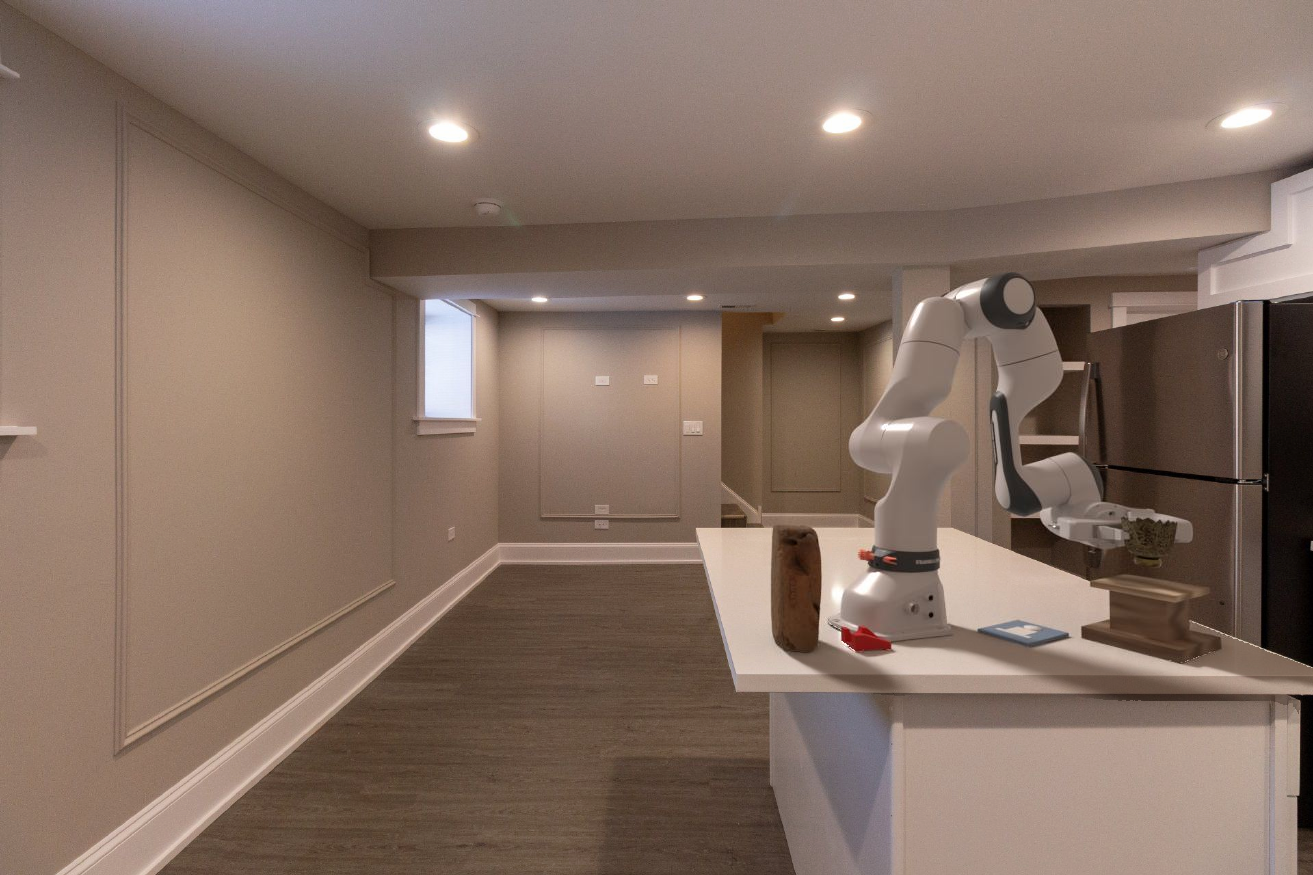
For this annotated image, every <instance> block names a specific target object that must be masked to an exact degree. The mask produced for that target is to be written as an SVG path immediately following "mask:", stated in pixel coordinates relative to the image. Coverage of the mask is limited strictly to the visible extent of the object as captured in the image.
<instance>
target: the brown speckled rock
mask: <svg viewBox="0 0 1313 875" xmlns="http://www.w3.org/2000/svg"><path fill="white" fill-rule="evenodd" d="M771 533H772V534H771V536H772V537H771V555H770V556H771V561H770V567H771V568H770V619H771V620H770V621H771V634H772V638H773V640H774V642H775V643H776V644H777V643H778V644H777V645H779V644H780V646H781V647H782V648H784V649H785V650H788V651H791V652H798V653H799V652H800V653H805V652H806V653H807V652H808V653H809V652H812V651H814V650H816V649H817V647H818V645H819V641H820V640H819V638H820V637H819V636H820V618H821V617H820V615H821V603H822V601H821V600H822V577H823V575H822V556H821V549H820V548H821V547H820V542H819V536H818V534H817V531H816V530H815V529H814V528H812V527H811V526H808V525H796V524H795V525H791V524H774V525H773V527H772V531H771Z"/></svg>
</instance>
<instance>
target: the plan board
mask: <svg viewBox="0 0 1313 875" xmlns="http://www.w3.org/2000/svg"><path fill="white" fill-rule="evenodd" d="M977 633H978V634H981V635H984V636H985V635H986V636H990V637H993V638H996V639H999V640H1003V641H1007V642H1010V643H1013V644H1016V645H1020V646H1023V647H1027V648H1031V647H1034V646H1038V645H1042V644H1045V643H1049V642H1053V641H1057V640H1061V639H1064V638H1069V637H1070V633H1069V632H1067V631H1062V630H1060V629H1055V628H1052V627H1047V626H1045V625H1044V626H1043V625H1040V624H1035V623H1032V622H1027V621H1023V620H1020V619H1015V620H1011V621H1010V620H1009V621H1006V622H1002V623H1001V622H1000V623H998V624H993V625H989V626H984V627H981V628H980V627H979V628H977Z"/></svg>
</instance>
